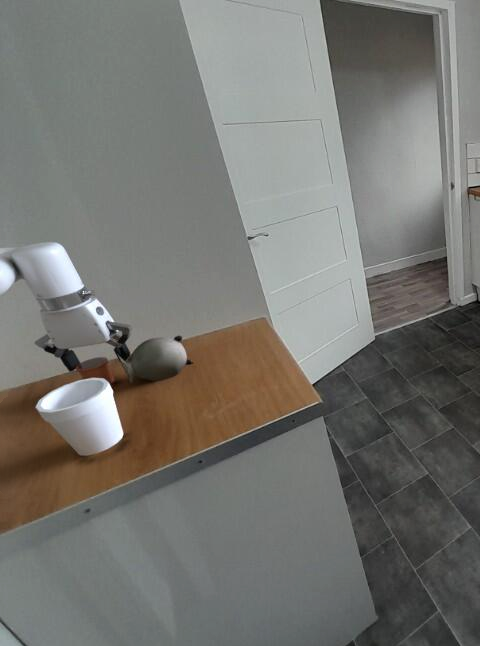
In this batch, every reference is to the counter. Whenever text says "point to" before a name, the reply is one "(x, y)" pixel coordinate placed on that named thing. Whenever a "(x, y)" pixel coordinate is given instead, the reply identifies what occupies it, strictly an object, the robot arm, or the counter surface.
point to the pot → (95, 369)
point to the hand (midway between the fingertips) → (100, 363)
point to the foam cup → (83, 415)
